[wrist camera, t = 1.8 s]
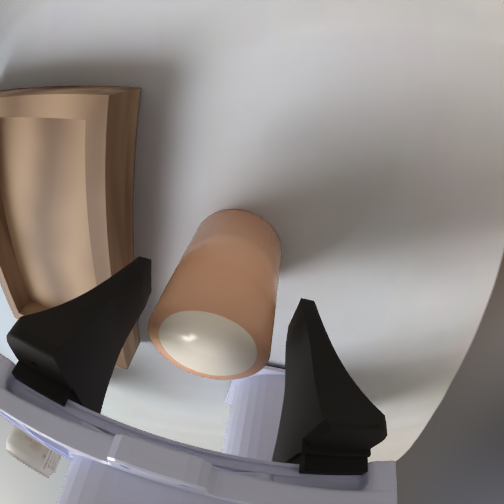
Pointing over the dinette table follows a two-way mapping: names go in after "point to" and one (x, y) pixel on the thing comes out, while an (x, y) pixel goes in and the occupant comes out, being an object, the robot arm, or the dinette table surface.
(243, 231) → the tan and white cylinder
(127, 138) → the tray
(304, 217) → the dinette table surface
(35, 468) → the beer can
